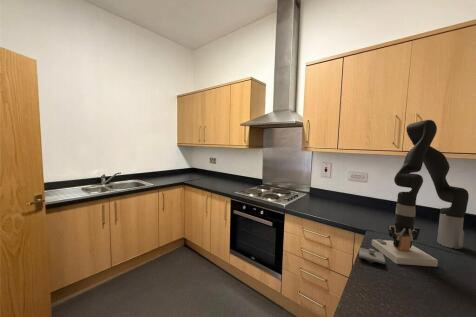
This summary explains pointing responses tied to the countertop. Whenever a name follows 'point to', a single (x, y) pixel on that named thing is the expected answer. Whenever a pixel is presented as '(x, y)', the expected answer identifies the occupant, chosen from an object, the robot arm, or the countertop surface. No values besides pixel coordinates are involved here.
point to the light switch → (371, 255)
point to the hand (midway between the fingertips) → (402, 247)
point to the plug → (404, 243)
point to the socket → (404, 254)
